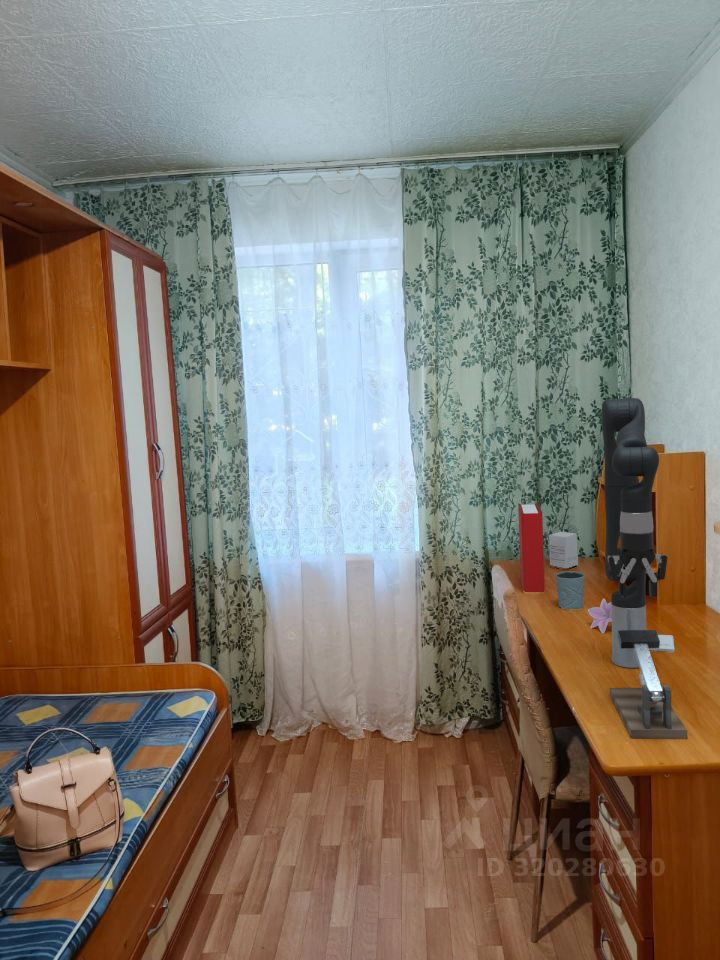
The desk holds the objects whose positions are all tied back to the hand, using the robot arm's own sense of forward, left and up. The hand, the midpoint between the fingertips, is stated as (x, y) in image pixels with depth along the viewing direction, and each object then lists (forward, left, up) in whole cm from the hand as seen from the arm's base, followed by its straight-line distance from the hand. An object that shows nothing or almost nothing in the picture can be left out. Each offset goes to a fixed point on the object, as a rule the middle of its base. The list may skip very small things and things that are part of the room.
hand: (637, 596), depth 181 cm
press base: (+7, 0, -27) cm, 28 cm away
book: (-116, -15, -28) cm, 120 cm away
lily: (-59, +3, -28) cm, 66 cm away
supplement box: (-145, +2, -28) cm, 148 cm away
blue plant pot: (-84, -4, -28) cm, 89 cm away
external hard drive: (-44, +16, -28) cm, 54 cm away
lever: (+7, 0, -17) cm, 18 cm away
